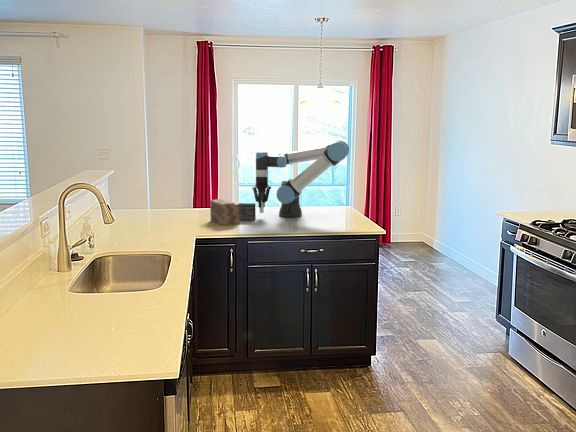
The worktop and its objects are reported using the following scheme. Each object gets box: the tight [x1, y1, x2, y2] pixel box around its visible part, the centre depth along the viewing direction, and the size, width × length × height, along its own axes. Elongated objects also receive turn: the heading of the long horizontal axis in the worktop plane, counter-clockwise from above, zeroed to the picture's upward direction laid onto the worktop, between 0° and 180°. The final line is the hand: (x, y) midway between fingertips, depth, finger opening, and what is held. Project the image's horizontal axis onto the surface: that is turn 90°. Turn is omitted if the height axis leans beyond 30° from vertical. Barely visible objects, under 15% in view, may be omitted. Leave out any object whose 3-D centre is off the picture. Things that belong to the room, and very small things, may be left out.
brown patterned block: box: [209, 198, 240, 227], centre depth 360 cm, size 11×18×13 cm, turn 32°
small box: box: [238, 202, 257, 222], centre depth 369 cm, size 11×6×10 cm, turn 84°
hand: (261, 212), depth 375 cm, fingers closed
